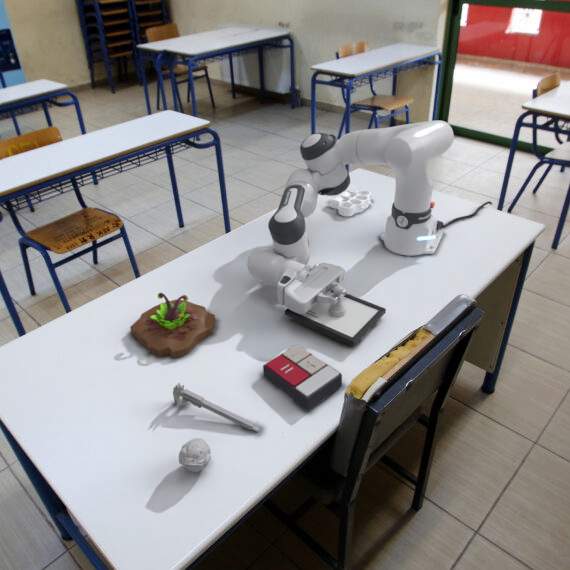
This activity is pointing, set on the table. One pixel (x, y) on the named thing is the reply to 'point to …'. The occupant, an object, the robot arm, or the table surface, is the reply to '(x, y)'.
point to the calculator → (303, 376)
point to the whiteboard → (341, 319)
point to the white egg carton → (350, 202)
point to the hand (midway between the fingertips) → (340, 297)
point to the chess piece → (338, 307)
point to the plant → (173, 327)
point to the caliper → (210, 407)
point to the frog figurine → (195, 455)
